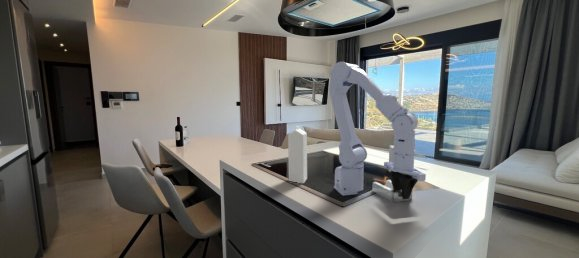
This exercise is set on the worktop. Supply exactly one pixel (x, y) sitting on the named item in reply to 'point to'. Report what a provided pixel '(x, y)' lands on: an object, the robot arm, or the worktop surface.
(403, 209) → the worktop surface
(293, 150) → the milk
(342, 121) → the robot arm
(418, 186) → the stand
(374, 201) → the worktop surface
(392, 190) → the c link
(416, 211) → the worktop surface
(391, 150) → the skincare box
